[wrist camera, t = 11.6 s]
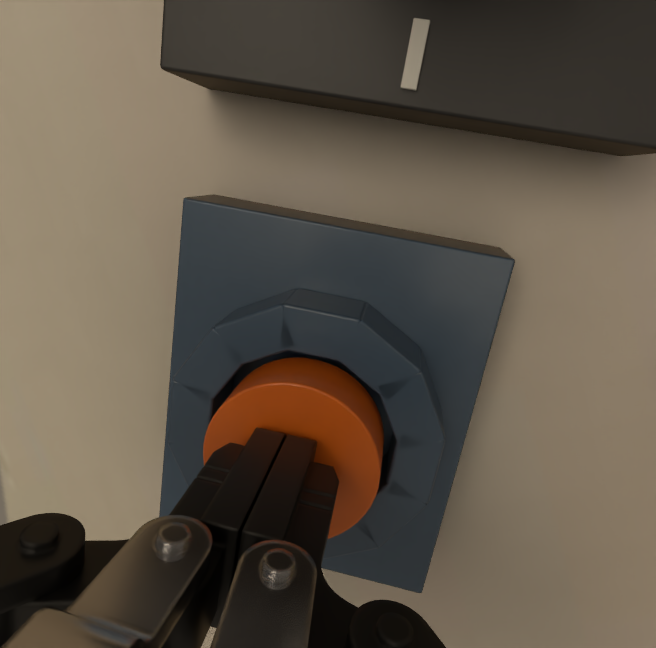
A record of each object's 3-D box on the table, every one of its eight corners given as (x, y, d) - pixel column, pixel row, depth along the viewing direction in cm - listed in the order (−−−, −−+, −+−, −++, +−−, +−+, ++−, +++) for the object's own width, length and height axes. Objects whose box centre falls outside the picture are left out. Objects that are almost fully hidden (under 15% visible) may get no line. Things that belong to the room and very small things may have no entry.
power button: (235, 340, 14) (210, 364, 12) (399, 376, 13) (397, 405, 11) (218, 481, 15) (194, 520, 13) (367, 517, 14) (361, 562, 13)
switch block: (212, 194, 16) (150, 200, 12) (501, 247, 15) (532, 272, 11) (185, 488, 19) (129, 565, 16) (420, 547, 18) (422, 643, 15)
